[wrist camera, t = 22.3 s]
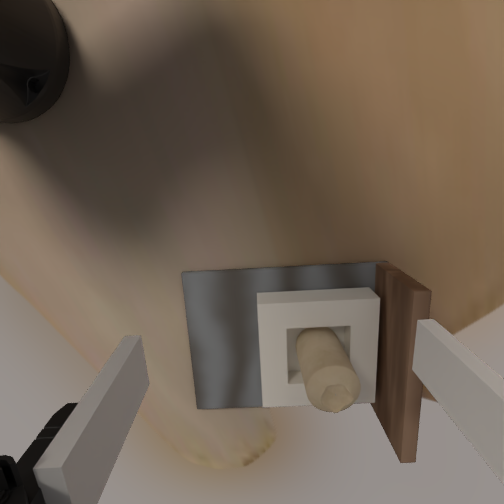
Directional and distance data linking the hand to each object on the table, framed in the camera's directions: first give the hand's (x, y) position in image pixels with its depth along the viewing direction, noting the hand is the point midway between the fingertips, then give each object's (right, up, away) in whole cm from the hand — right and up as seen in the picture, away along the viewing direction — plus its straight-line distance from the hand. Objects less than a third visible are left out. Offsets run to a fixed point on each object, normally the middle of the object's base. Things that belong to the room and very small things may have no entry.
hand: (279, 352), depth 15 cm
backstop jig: (+3, -7, +27) cm, 28 cm away
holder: (+7, -7, +26) cm, 27 cm away
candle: (+7, -7, +25) cm, 27 cm away
